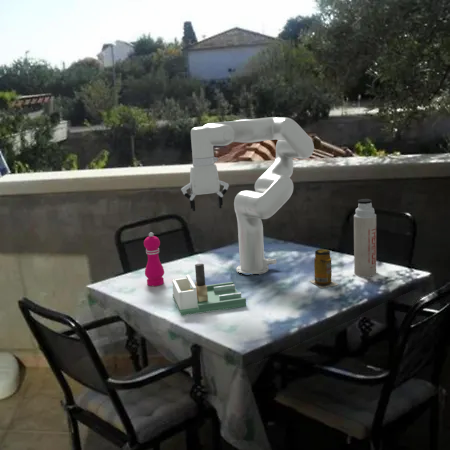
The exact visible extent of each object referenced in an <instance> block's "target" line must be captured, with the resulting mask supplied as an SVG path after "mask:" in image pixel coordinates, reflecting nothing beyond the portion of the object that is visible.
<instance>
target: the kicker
mask: <svg viewBox="0 0 450 450" xmlns="http://www.w3.org/2000/svg"><path fill="white" fill-rule="evenodd" d="M194 270H195V271H194V272H195V282H194V284H195V286H196V289H197V299H198V301H199V302H202V301H208V294H207V286H206V285H207V284H206V277H205V276H206V275H205V264H204V263H196V264H195V265H194Z"/></svg>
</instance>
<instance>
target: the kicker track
mask: <svg viewBox="0 0 450 450" xmlns="http://www.w3.org/2000/svg"><path fill="white" fill-rule="evenodd" d="M235 289H236V284H232V285H225V286H218V287H214V293H219V292H227V291H234V290H235ZM241 297H242V292H241V291H239V292H238V293H233V294H226V295H219V301H224V300H231V299H238V298H241Z"/></svg>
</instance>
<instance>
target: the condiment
mask: <svg viewBox="0 0 450 450" xmlns="http://www.w3.org/2000/svg"><path fill="white" fill-rule="evenodd" d="M313 261H314V263H313V264H314V267H313V269H314V279H313V280H309V282H310V283H312V284H314V285H315V286H317V287H318V288H320V289H322V288H323V289H324V288H329V287H334V286H338V285H339V284H338V283H337V282H335V281H333V280H332V271H333V270H332V257H331V251H330V250H329V249H328V248H327V249H326V248H318V249H316V250H315V251H314V259H313Z"/></svg>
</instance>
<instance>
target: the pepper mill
mask: <svg viewBox="0 0 450 450" xmlns="http://www.w3.org/2000/svg"><path fill="white" fill-rule="evenodd" d="M154 234H155V233H153V232H149V233H148V236H147V237H146V238H145V239H144V240H143V246H144V248H145V253H146V255H147V262H146V265H145V269H144V274H145V277H146V278H147V279H146V283H147V286H149V287H159V286H162V285H164V284H165V283H164V282H165V281H164V280H165V279H164V277H163V276H164V274H165V269H164V266H163V264H162V263H161V261H160V256H159V253H160V248H159V247H160V245H161V241H160V239H159V237H157V236H155V235H154Z"/></svg>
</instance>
